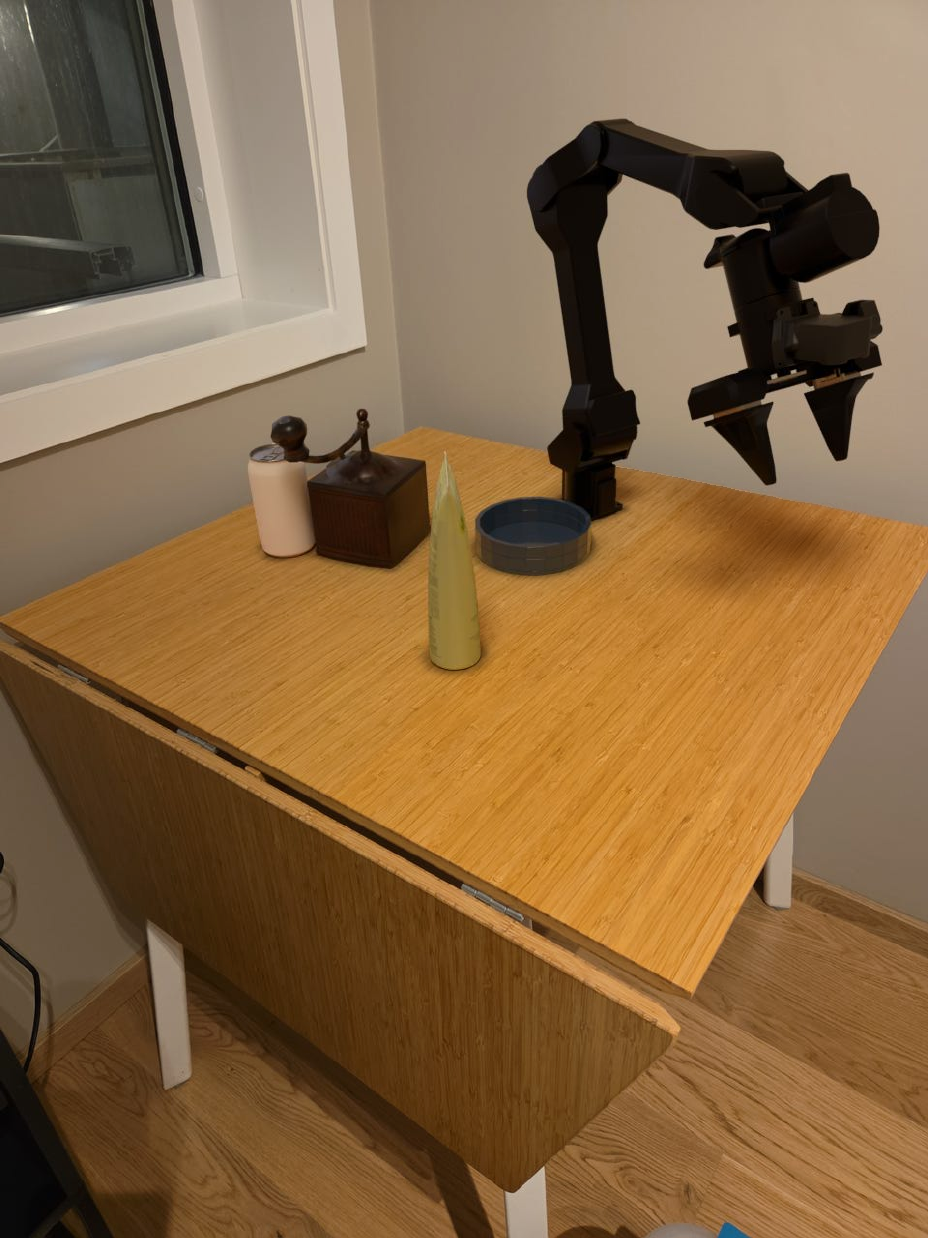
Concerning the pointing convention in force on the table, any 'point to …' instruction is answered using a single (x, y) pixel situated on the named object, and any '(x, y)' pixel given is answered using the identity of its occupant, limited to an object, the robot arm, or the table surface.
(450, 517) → the tube
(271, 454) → the can
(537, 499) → the basin
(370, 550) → the manual coffee grinder
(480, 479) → the table surface
